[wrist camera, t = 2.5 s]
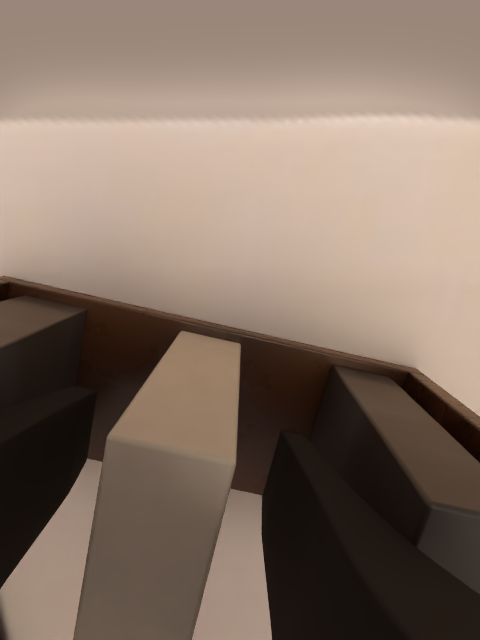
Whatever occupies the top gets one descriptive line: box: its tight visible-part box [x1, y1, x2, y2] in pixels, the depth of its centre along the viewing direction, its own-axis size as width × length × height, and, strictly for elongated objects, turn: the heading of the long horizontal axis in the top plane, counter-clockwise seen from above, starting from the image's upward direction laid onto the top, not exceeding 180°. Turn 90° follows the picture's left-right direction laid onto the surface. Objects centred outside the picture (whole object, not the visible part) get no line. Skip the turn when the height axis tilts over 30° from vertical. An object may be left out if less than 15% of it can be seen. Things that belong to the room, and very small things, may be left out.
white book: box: [73, 331, 241, 640], centre depth 9 cm, size 2×5×6 cm, turn 167°
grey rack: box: [0, 276, 480, 594], centre depth 9 cm, size 14×6×7 cm, turn 77°
